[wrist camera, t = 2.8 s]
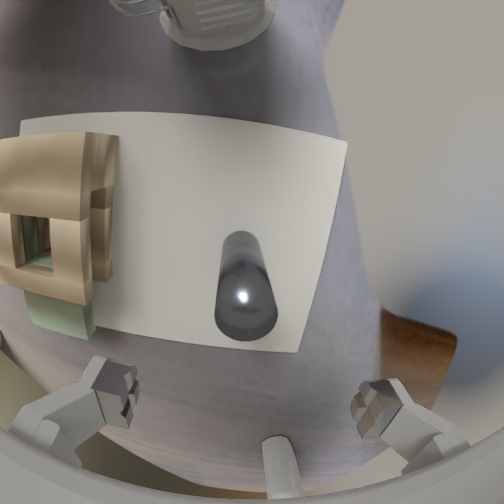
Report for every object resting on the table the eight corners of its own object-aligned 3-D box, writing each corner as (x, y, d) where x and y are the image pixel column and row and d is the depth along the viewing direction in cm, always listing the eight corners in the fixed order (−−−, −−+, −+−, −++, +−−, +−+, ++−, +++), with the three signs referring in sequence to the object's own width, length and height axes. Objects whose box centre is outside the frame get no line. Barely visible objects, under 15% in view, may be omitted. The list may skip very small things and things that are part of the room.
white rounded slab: (297, 459, 35) (309, 520, 24) (272, 464, 35) (280, 526, 24) (288, 432, 32) (303, 507, 20) (258, 438, 32) (265, 513, 20)
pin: (224, 228, 22) (217, 284, 12) (262, 233, 22) (283, 292, 13) (220, 263, 23) (211, 338, 13) (256, 268, 23) (271, 343, 13)
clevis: (31, 139, 18) (-7, 140, 12) (118, 135, 19) (85, 131, 13) (39, 302, 23) (12, 329, 18) (116, 322, 24) (95, 357, 19)
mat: (24, 120, 17) (21, 120, 17) (345, 142, 20) (347, 142, 20) (31, 304, 23) (29, 306, 23) (296, 349, 27) (297, 352, 26)
